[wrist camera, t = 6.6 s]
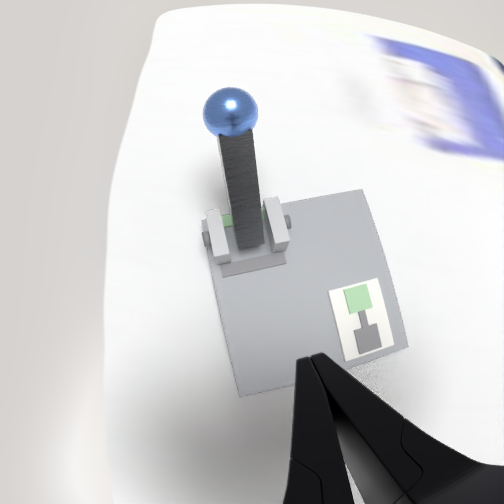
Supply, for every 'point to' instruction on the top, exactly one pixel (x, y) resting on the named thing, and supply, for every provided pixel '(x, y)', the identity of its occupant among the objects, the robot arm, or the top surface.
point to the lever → (237, 159)
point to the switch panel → (303, 289)
